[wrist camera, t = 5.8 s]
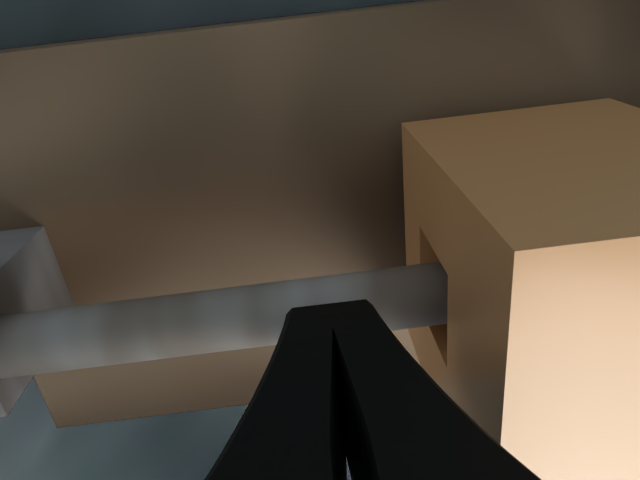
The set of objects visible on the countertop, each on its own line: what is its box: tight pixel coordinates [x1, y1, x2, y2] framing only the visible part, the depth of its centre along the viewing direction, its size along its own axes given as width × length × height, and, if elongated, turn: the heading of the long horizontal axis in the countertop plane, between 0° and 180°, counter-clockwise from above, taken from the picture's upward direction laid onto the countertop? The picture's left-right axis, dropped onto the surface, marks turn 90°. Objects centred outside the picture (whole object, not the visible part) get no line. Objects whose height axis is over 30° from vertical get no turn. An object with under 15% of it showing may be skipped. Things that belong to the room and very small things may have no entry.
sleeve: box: [401, 98, 640, 480], centre depth 9 cm, size 6×4×6 cm
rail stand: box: [0, 0, 640, 428], centre depth 11 cm, size 10×19×7 cm, turn 96°
